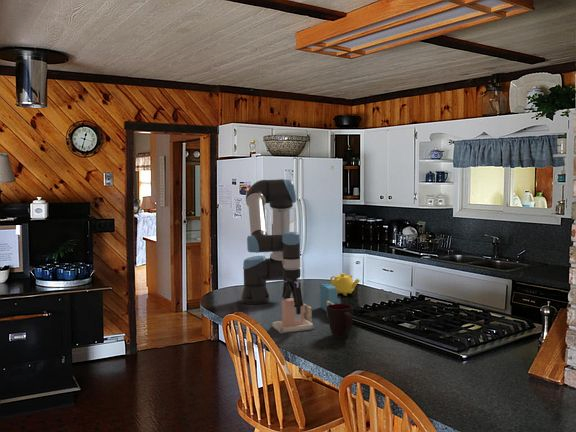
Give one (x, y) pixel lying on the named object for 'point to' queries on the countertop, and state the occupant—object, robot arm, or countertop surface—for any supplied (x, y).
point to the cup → (340, 319)
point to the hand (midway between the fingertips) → (292, 318)
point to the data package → (327, 295)
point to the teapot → (344, 283)
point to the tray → (282, 329)
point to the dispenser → (310, 311)
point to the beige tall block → (290, 313)
